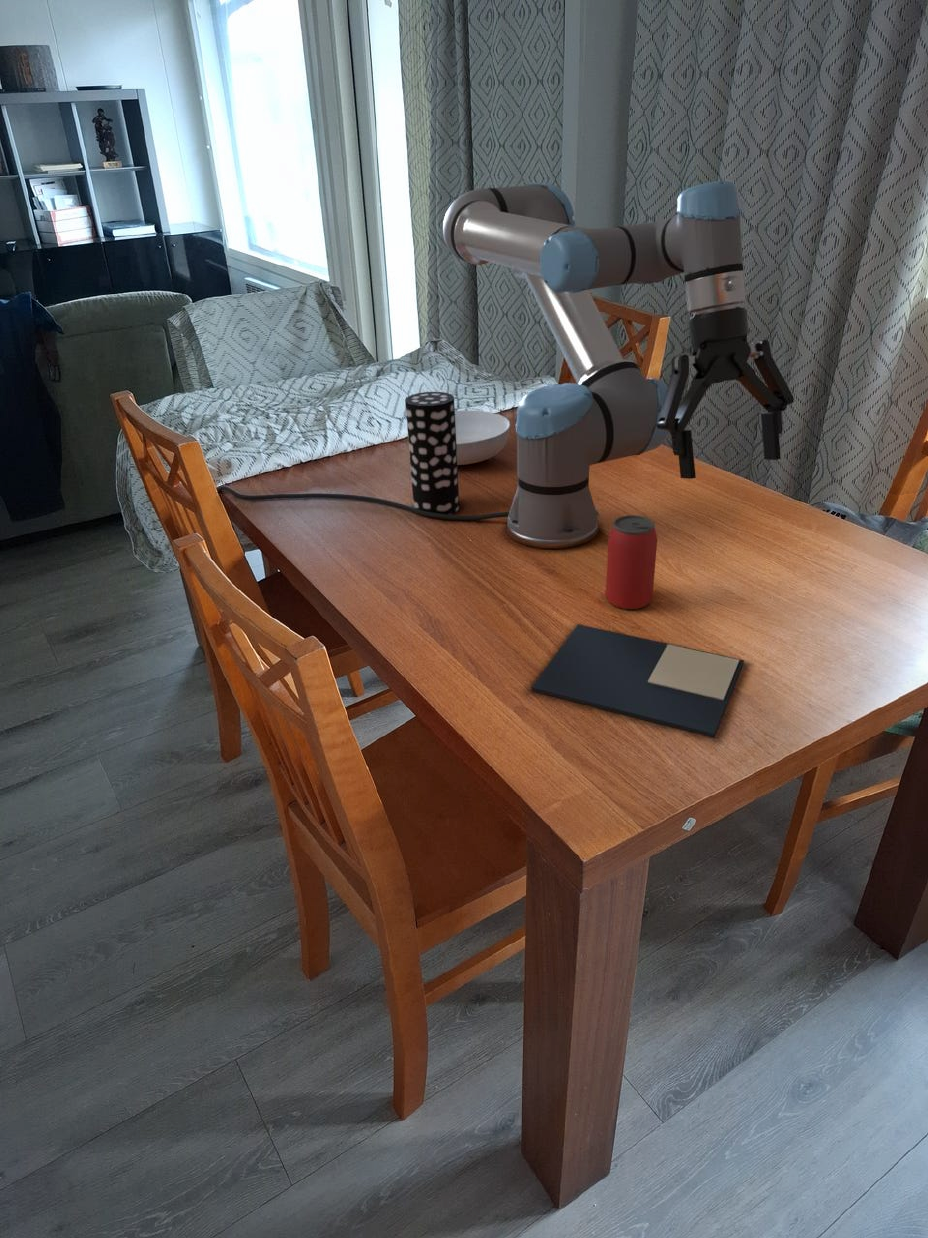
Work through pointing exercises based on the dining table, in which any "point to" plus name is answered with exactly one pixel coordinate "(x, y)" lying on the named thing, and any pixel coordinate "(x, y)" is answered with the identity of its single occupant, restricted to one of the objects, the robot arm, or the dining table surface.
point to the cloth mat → (642, 679)
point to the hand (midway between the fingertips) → (730, 468)
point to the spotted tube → (433, 451)
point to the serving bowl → (479, 435)
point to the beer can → (631, 562)
